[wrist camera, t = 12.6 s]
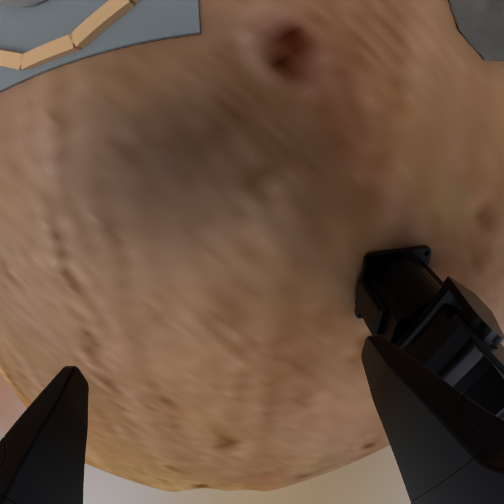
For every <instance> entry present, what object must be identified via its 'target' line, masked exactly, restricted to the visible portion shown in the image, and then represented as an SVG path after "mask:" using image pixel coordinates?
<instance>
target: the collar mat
mask: <svg viewBox="0 0 504 504" xmlns="http://www.w3.org/2000/svg"><path fill="white" fill-rule="evenodd" d="M196 34H200V20H199V3H198V0H45V1H43V2H41V3H38V4H36V5H34V6H29V7H24V8H22V7H12V6H6V5H2V4H0V92H2V91H4V90H6V89H8V88H10V87H12V86H14V85H17V84H19V83H21V82H23V81H25V80H28V79H30V78H32V77H35V76H37V75H40V74H42V73H45V72H47V71H50V70H52V69H55V68H58V67H60V66H63V65H66V64H69V63H72V62H75V61H78V60H81V59H84V58H87V57H90V56H94V55H97V54H101V53H104V52H108V51H112V50H115V49H119V48H123V47H128V46H132V45H137V44H141V43H146V42H151V41H156V40H162V39H168V38H174V37H181V36H188V35H196Z"/></svg>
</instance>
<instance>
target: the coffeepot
mask: <svg viewBox="0 0 504 504" xmlns="http://www.w3.org/2000/svg"><path fill="white" fill-rule="evenodd" d="M448 1H449V5H450V9H451V12H452V14H453V17H454V20H455V22H456V24H457V26H458V28H459V30H460V32H461V33H462V35H463V36H464V38H465V39H466V40H467V41H468V43H469V44H470V45H471V46H472V47H473V48H474V49H475V50H476V51H477V52H478V53H479V54H481V56H482V57H483V58H484V59H485V60H499V61H504V0H448Z"/></svg>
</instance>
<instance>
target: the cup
mask: <svg viewBox="0 0 504 504" xmlns="http://www.w3.org/2000/svg"><path fill="white" fill-rule="evenodd" d="M43 1H45V0H0V4H2V5H6V6H12V7H22V8H24V7H29V6H34V5H36V4H38V3H41V2H43Z"/></svg>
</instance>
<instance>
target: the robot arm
mask: <svg viewBox="0 0 504 504" xmlns="http://www.w3.org/2000/svg"><path fill="white" fill-rule="evenodd" d="M430 255H431V249H430V248H429V247H428V246H420V247H412V248H404V249H397V250H389V251H381V252H373V253H368V254H367V255H366V256H365V258H364V263H363V270H362V276H361V279H360V280H359V284H358V290H357V296H356V301H355V305H356V309H355V315H356V317H357V318H363V319H364V321H365V323H366V325H367V326H368V328H369V330H370V332H371V334H372V336H368V337H367V338H366V340H365V344H364V347H363V350H362V355H361V357H362V362H363V366H364V369H365V373H366V376H367V380H368V384H369V387H370V391H371V395H372V398H373V401H374V404H375V407H376V409H377V412H378V414H379V417H380V419H381V422H382V424H383V427H384V429H385V432H386V435H387V437H388V440H389V443H390V445H391V447H392V451H393V453H394V456H395V458H396V461H397V464H398V467H399V470H400V472H401V475H402V478H403V481H404V484H405V486H406V490H407V492H408V495H409V498H410V501H411V504H504V347H503V345H502V344H501V342H502V341H503V340H504V335H503V333H502V331H501V329H500V327H499V325H498V323H497V321H496V319H495V317H494V315H493V313H492V311H491V310H490V309H489V308H488V307H487V306H486V305H485V304H484V303H483V302H482V301H481V300H480V299H479V298H478V297H477V296H476V295H475V294H474V293H473V292H472V291H470V290H469V289H467V288H466V287H464V286H463V285H461V284H460V283H458V282H457V281H455V280H454V279H452V278H450V277H449V276H448V277H447V278H446V280H445V281H444V283H443V282H442V281H441V280H440V278H439V277H438V276H437V275H436V274H435V273H434V272H433V271H432V270H431V269H430V268H429V267H428V263H429V259H430ZM371 258H372V260H371V261H369V260H370V259H371ZM88 391H89V387H88V383H87V381H86V379H85V378H84V376H83V375H82V373H81V371H80V370H79V369H78V367H76V366H65V367H64V368H63V369H62V370H61V371H60V372H59V373H58V374H57V375H56V377H55V378H54V379H53V380H52V381H51V382H50V383H49V384H48V385H47V387H46V388H45V389H44V390H43V391H42V392H41V393H40V395H39V396H38V397H37V398H36V399H35V400H34V401H33V403H32V404H31V405H30V406H29V407H28V408H27V410H26V411H25V412H24V413H23V414H22V415H21V417H20V418H19V419H18V420H17V421H16V423H15V424H14V425H13V426H12V427H11V429H10V430H9V431H8V432H7V433H6V435H5V437H3V438H2V440H1V441H0V504H83V482H84V464H85V451H86V440H87V429H88Z"/></svg>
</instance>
